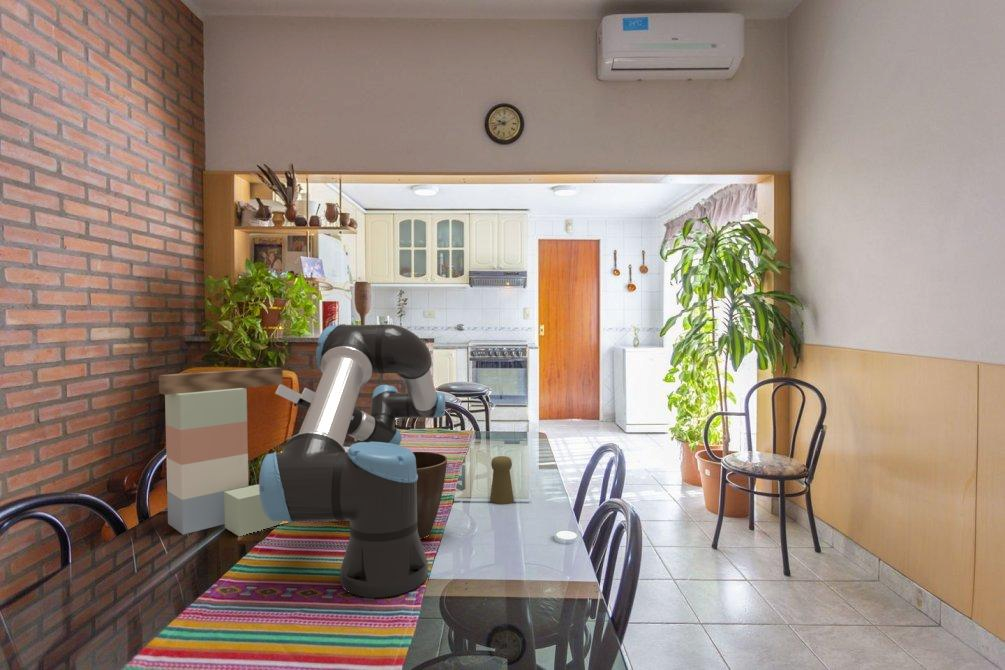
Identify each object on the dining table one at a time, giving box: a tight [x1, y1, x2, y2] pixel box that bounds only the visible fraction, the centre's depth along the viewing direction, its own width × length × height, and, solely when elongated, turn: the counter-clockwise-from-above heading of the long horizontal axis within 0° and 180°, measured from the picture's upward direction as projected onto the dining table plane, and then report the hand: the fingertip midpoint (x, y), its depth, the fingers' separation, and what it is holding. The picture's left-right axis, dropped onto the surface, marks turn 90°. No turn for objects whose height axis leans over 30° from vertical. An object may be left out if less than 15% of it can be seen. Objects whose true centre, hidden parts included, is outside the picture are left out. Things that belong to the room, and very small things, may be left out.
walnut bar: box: [158, 367, 284, 396], centre depth 131 cm, size 26×4×4 cm, turn 137°
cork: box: [489, 455, 515, 505], centre depth 142 cm, size 6×6×11 cm
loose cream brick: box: [224, 483, 283, 537], centre depth 126 cm, size 12×8×8 cm, turn 137°
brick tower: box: [164, 388, 249, 535], centre depth 129 cm, size 14×10×30 cm
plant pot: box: [412, 451, 448, 539], centre depth 119 cm, size 15×15×16 cm
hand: (289, 390), depth 143 cm, fingers open, 13 cm apart
